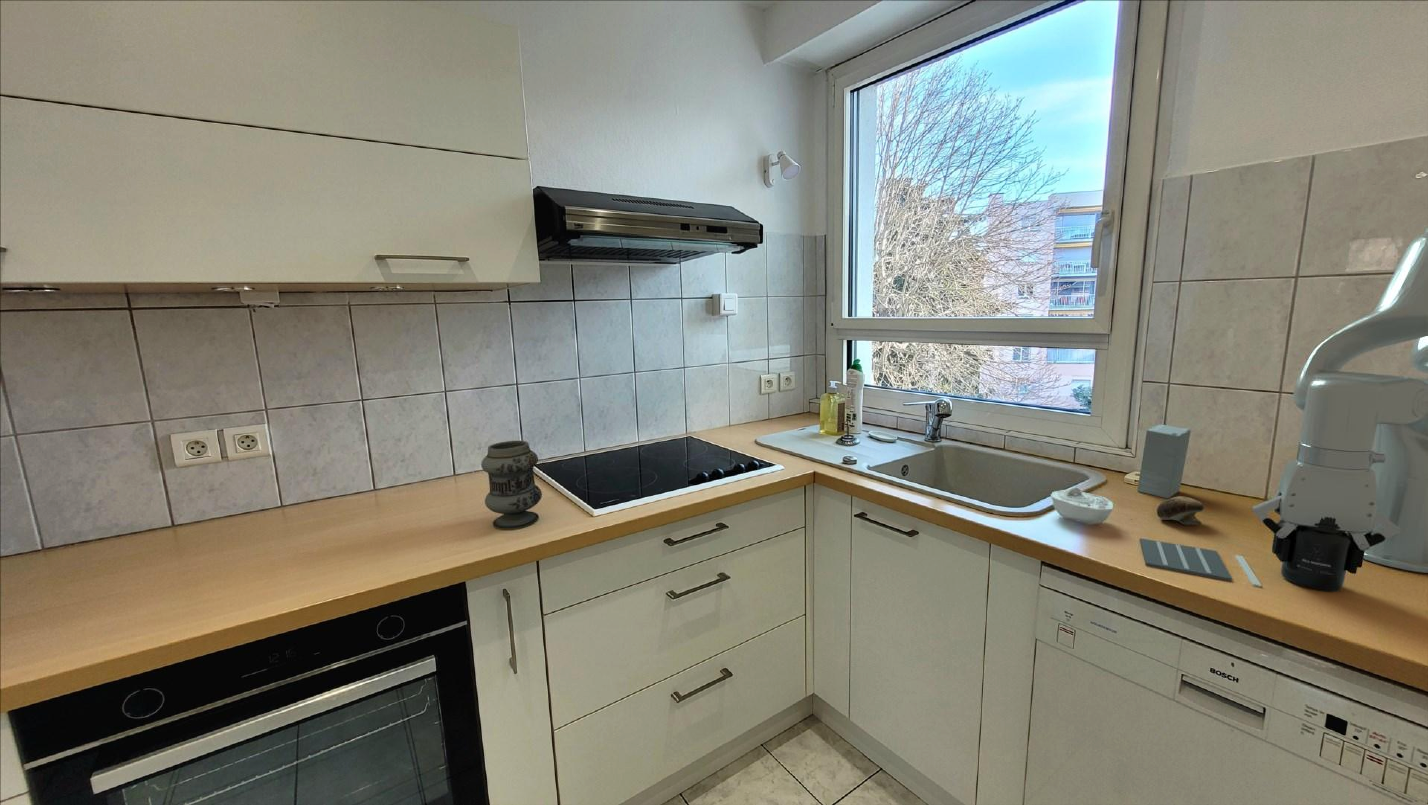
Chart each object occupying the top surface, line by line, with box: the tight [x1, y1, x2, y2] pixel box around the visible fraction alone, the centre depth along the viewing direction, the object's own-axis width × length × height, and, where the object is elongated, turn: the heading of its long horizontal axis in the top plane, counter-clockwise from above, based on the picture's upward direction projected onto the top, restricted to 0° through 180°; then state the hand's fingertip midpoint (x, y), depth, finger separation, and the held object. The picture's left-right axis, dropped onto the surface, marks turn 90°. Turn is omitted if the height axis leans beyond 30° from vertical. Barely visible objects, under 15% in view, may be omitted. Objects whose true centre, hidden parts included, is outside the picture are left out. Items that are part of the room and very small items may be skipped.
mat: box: [1139, 537, 1233, 582], centre depth 96 cm, size 11×12×1 cm
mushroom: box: [1156, 495, 1205, 526], centre depth 111 cm, size 8×8×6 cm
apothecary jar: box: [480, 440, 543, 531], centre depth 120 cm, size 12×12×18 cm
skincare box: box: [1137, 424, 1192, 499], centre depth 129 cm, size 8×7×16 cm
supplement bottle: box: [1280, 517, 1352, 593], centre depth 86 cm, size 7×7×12 cm
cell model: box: [1050, 486, 1115, 526], centre depth 114 cm, size 10×12×7 cm
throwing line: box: [1234, 554, 1262, 588], centre depth 91 cm, size 1×12×1 cm, turn 146°
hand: (1314, 563), depth 87 cm, fingers closed on supplement bottle, 6 cm apart
